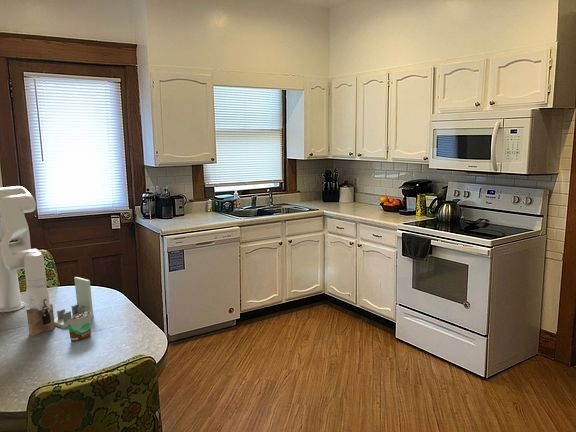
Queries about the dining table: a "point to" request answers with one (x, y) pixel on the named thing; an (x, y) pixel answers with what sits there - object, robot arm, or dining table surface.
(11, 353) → the dining table surface
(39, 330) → the wooden block
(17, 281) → the robot arm
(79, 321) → the food container
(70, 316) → the hinge base
